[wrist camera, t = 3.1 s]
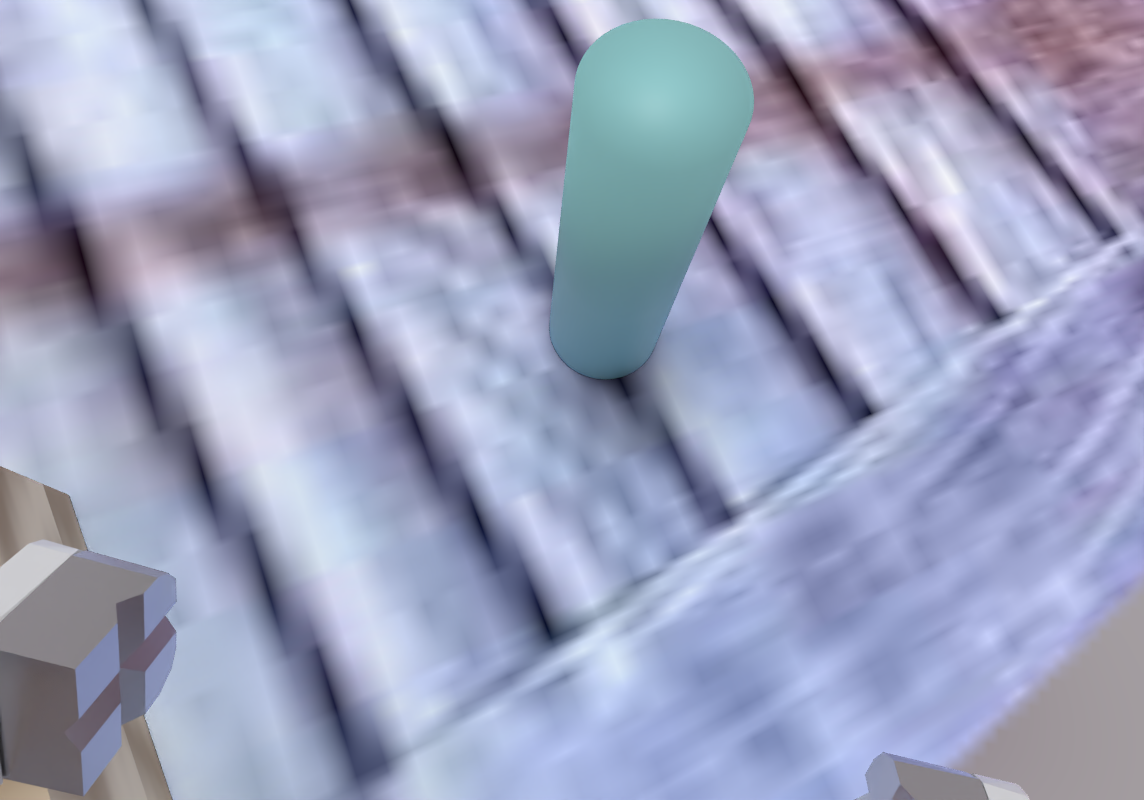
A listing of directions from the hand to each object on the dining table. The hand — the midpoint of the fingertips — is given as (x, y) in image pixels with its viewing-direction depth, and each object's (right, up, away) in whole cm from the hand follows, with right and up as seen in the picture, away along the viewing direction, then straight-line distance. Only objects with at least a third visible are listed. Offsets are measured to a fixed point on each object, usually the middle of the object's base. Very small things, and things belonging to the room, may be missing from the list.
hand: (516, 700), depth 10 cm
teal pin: (+2, +6, +19) cm, 20 cm away
